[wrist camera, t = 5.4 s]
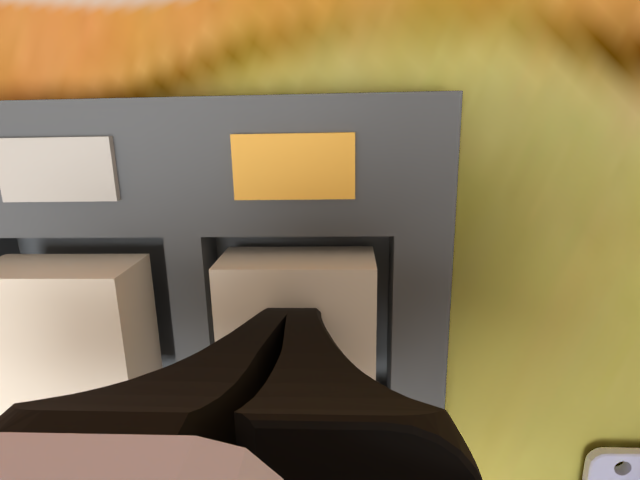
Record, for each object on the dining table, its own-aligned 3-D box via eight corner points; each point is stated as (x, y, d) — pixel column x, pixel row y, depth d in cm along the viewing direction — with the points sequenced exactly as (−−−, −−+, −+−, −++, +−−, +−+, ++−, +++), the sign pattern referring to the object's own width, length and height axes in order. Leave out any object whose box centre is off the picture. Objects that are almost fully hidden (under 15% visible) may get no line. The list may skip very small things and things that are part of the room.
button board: (445, 93, 13) (465, 90, 11) (427, 464, 16) (439, 517, 14) (-237, 108, 14) (-340, 107, 12) (-130, 451, 17) (-197, 498, 15)
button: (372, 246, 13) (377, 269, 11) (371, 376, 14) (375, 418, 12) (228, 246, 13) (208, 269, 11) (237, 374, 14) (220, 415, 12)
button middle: (149, 253, 13) (114, 279, 11) (164, 385, 14) (135, 430, 12) (5, 253, 13) (-54, 278, 11) (31, 384, 14) (-19, 427, 12)
